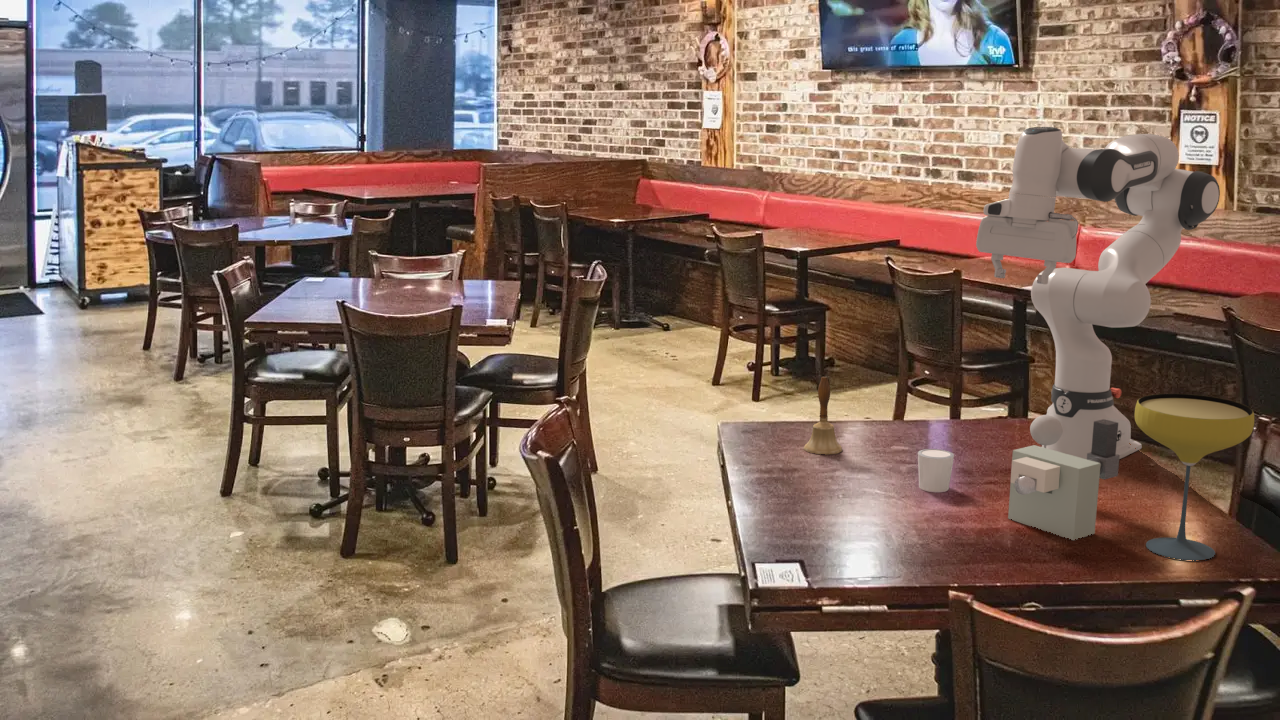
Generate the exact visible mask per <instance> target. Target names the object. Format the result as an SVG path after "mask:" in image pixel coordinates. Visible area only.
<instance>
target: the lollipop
mask: <svg viewBox="0 0 1280 720" xmlns="http://www.w3.org/2000/svg"><path fill="white" fill-rule="evenodd" d="M1029 431H1030V436H1031V437H1032V439H1033V441H1035V442H1036V443H1037V444H1039V445H1041V446H1042V445H1044V448H1046V445H1052V444H1054V443H1056V442H1057V441H1058V440H1059V439H1060V438H1061V436H1062V433H1063V428H1062V425H1061V423H1060V422H1059V420H1058V419H1057V418H1055V417H1053V416H1051V415H1047V414H1043V415H1039V416H1037V417H1035V419H1033V421H1032V422H1031V424H1030V426H1029Z"/></svg>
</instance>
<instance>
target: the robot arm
mask: <svg viewBox="0 0 1280 720" xmlns="http://www.w3.org/2000/svg"><path fill="white" fill-rule="evenodd" d="M1179 156H1180V155H1179V150H1178V148H1177V146H1176V145H1175V143H1174V141H1172V139H1169V138H1168V137H1167V136H1166V137H1165V136H1163V135H1159V134H1154V133H1153V134H1152V133H1135V134H1134V133H1133V134H1129V135H1124V136H1120V137H1117V138H1115V139H1114V140H1112V141H1110V142H1109V143H1108V144H1107V145H1106V146H1105V147H1104V148H1082V147H1081V148H1077V147H1076V148H1075V147H1071V146H1069V145H1068V144H1067V143H1065V142H1064V140H1063V133H1062V130H1061V129H1060V128H1058V127H1055V126H1034V127H1029V128H1026V129H1023V131H1021V134H1020V135H1019V138H1018V141H1017V144H1016V148H1015V153H1014V158H1013V164H1012V170H1011V171H1012V184H1011V187H1010V188H1009V193H1008V198H1007V199H1006V198H1005V199H1002V200H998V201H995V202H991V203H987V204H984V207H983V215H985V216H984V217H983V218H982V219H981V221H980V223H979V226H978V230H977V235H976V243H975V246H976V249H977V251H978V252H980V253H985V254H991V256H990V257H991V258H990V259H991V262H992V265H993V268H994V275H993V276H994V278H997V279H1005V278H1006V273H1007V269H1005V268H1003V264H1002V262H1001V261H1003V260H1004V256H1008V257H1018V258H1023V259H1024V258H1025V259H1031V260H1037V261H1038V260H1040V261H1044V263H1043V266H1044V267H1045V268H1044V269H1043V270H1042V271H1040V272H1039V273H1038V274H1037V276H1036V277H1035V279H1034V280H1033V282H1032V286H1031V289H1030V296H1031V297H1030V299H1031V302H1032V304H1033V306H1034V308H1035V310H1037V311H1038V312H1039V314H1040V315H1041V316H1042V317H1043V318H1044V320H1045V322H1046V323H1047V325H1048V327H1049V329H1050V332H1051V335H1052V339H1053V342H1054V347H1055V348H1054V349H1055V373H1054V374H1055V375H1054V384H1053V385H1052V389H1051V391H1050V394H1051V399H1050V400H1051V402H1052V404H1051V405H1049V406H1048V408H1047V410H1046V415H1051V416H1053V417H1055V418H1057V419H1058V420H1059V422H1060V423H1061V425H1062V428H1063V433H1062V436H1061V438H1060V439H1059V440H1058V441H1057V442H1056V443H1054V444H1052V445H1046V448H1047V449H1050V450H1054V451H1058V452H1061V453H1065V454H1069V455H1072V456H1076V457H1080V458H1083V459H1087V453H1090V452H1091V450H1092V438H1093V426H1094V421H1098V420H1102V419H1105V420H1110V421H1114V422H1118V432H1117V444H1116V454H1119V455H1120V456H1119V460H1120V459H1123V458H1125V457H1127V456H1129V455H1130V454H1133V453H1135V452H1138V451H1140V450H1141V449H1142V443H1141V442H1139V441H1137V440H1134V439H1131V438H1132V437H1131V435H1132V433H1131V432H1132V431H1131V430H1132V429H1131V428H1132V426H1131V422H1130V420H1129V419H1128V418H1127V417H1126V416H1125V415H1124V414H1122V413H1121V411H1120V410H1118V408H1117V407H1116V406H1115V403H1114V398H1115V399H1119V398H1120V397H1121V396H1122V393H1123V392H1122V389H1121V388H1116V387H1111V388H1110V386H1111V375H1112V374H1111V373H1112V363H1113V356H1112V353H1111V350H1110V348H1109V347H1108V346H1107V345H1106V344H1105V343H1104V342H1102V341H1101V340H1100V339H1099V337H1098V336H1097V335H1096V332H1095V330H1094V326H1093V325H1095V326H1101V327H1107V328H1132V327H1136V326H1138V325H1140V324H1141V323H1142V322H1143V321H1144V320H1145V318H1146V317H1147V316H1148V314H1149V312H1150V309H1151V303H1152V298H1151V294H1150V293H1151V292H1150V290H1149V288H1148V287H1147V285H1146V284H1147V283H1148V282H1149V281H1151V279H1153V277H1155V276H1156V275H1157V274H1158V273H1160V271H1162V269H1163V268H1164V267H1165V266H1166V265H1168V263H1169V262H1170V261H1171V260H1172V258H1173V257H1174V255H1176V252H1178V249H1179V247H1180V245H1181V243H1182V241H1181V240H1182V231H1183V229H1184V230H1186V231H1192V230H1194V229H1196V228H1197V227H1198V226H1199V224H1201V223H1202V222H1205V221H1206V220H1207V219H1208V218H1209V217H1210V216H1211V215H1212V214H1213V213H1214V212H1215V211H1216V209H1217V207H1218V204H1219V203H1220V197H1221V196H1220V195H1221V191H1220V185H1219V183H1218V181H1217V178H1216V177H1215V176H1213V175H1211V174H1208V173H1206V172H1204V171H1200V170H1196V171H1192V170H1191V171H1190V170H1187V169H1180V168H1177V167H1178V163H1179V159H1180V158H1179ZM1056 197H1063V198H1064V197H1065V198H1073V199H1074V198H1075V199H1083V200H1085V199H1086V200H1092V201H1098V202H1102V203H1103V202H1104V203H1106V202H1110V201H1112V200H1114V201H1115V204H1116V205H1117V208H1118V210H1119V211H1121V212H1123V213H1125V214H1127V215H1131V216H1135V217H1137V216H1140V217H1141V219H1140V221H1139V222H1138V224H1136V225H1134V226H1132V227H1130V228H1129V229H1127V231H1125V232H1124V233H1122V234H1121V235H1120V236H1119V237H1118V238H1117V239H1116V240H1114V241H1113V242H1112V243H1111V244H1110V245H1109V246H1107V247H1106V248H1105V249H1104V250H1103V251H1102V252H1101V254H1100V256H1099V259H1098V263H1097V266H1098V267H1097V269H1098V270H1087V269H1079V268H1072V267H1057V263H1062V264H1063V263H1065V264H1071V263H1072V262H1073V261H1074V260H1075V259H1076V257H1077V256H1076V255H1077V235H1078V230H1079V221H1078V220H1077V218H1076V217H1074V216H1073V215H1072V214H1070V213H1069V214H1068V213H1059V212H1055V208H1056V200H1057V198H1056ZM1056 267H1057V268H1056ZM1129 443H1130V444H1131V445H1130V444H1129ZM1041 447H1043V448H1044V445H1041ZM1135 448H1136V449H1135Z"/></svg>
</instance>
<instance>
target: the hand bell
mask: <svg viewBox="0 0 1280 720" xmlns="http://www.w3.org/2000/svg"><path fill="white" fill-rule="evenodd" d="M817 396H818V397H817V398H818V401H819V421H818V422H817V423H814V424H813V426H812V432H811V436H810V438H809V440H808V441H807V443H805V445H804V446H803V451H805V452H806V451H807V453H809V452H810V453H809V454H813V453H815V454H814V455H821V454H825V455H826V456H827V455H836V454H839V453H841V452H843V446H841V444H839V442H838V440H837V438H836V433H835V426H834V424H832V423H830V422H829V419H828V416H829V415H828V405H829V402H830V398H831V386H830V381H829V379H828V376H821V378H820V381H819V384H818V388H817ZM825 455H824V456H825Z"/></svg>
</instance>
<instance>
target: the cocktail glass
mask: <svg viewBox="0 0 1280 720" xmlns="http://www.w3.org/2000/svg"><path fill="white" fill-rule="evenodd" d="M1134 422H1135V423H1136V426H1137V427H1138V428H1139V430H1140V431H1142V432H1143V433H1144V434H1145V435H1146V436H1148V437H1149V438H1151V439H1152V440H1154V441H1156V442H1157V443H1160V445H1162V446H1164V447H1166V448H1168V449H1170V450H1171V451H1172V452H1173V453H1175V454H1176V456H1177V457H1178V459H1179V461H1180V462H1181V463H1182V464H1183V465H1185V466H1186V467H1185V479H1184V487H1183V488H1184V489H1183V497H1182V504H1181V505H1182V506H1181V516H1180V523H1179V527H1178V532H1177V535H1176V537H1173V536H1172V537H1170V536H1166V537H1164V536H1163V537H1155V538H1154V537H1153V538H1152V539H1149V540H1147V542H1145V546H1146V549H1147V550H1148V549H1149V551H1150V552H1151V551H1152V552H1151V553H1153V554H1155V553H1156V554H1155V555H1157V554H1158V555H1157V556H1160V555H1162V556H1165V557H1164V558H1166V557H1170V558H1175V559H1181V560H1192V561H1191V562H1197V561H1196V560H1205V559H1209V560H1211V559H1213V558H1214V557H1215V556H1216V551H1215V550H1214V549H1213V548H1212V547H1210V546H1209V545H1207V544H1205V543H1202V542H1200V541H1197V540H1192V539H1187V537H1186V521H1187V519H1186V518H1187V507H1188V496H1189V484H1190V475H1191V467H1193V466H1195V465H1197V463H1198V462H1200V461H1201V459H1203V458H1204V457H1206V456H1208V455H1210V454H1212V453H1217V452H1219V451H1222V450H1227V449H1229V448H1232V447H1234V446H1237V445H1239V444H1240V443H1242V442H1244V441H1245V440H1247V439H1248V438H1249V437H1250V436H1251V435H1252V433H1253V431H1254V427H1255V413H1254V410H1253V409H1252V408H1251V407H1250V406H1247V405H1246V404H1242V403H1240V402H1237V401H1234V400H1229V399H1225V398H1221V397H1215V396H1210V395H1209V396H1208V395H1201V394H1189V393H1188V394H1187V393H1156V394H1149V395H1145V396H1142V397H1140V398H1138V399H1137V401H1136V404H1135V408H1134ZM1214 555H1215V556H1214ZM1162 556H1161V557H1162ZM1212 557H1213V558H1212ZM1170 558H1169V559H1170ZM1210 558H1211V559H1210ZM1175 559H1174V560H1175ZM1181 560H1180V561H1181ZM1193 560H1194V561H1193ZM1205 561H1206V560H1205Z"/></svg>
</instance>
